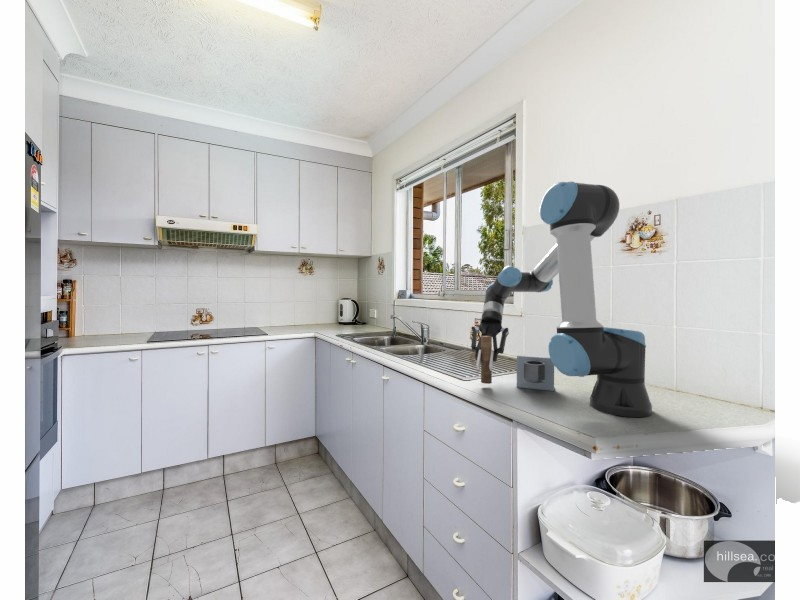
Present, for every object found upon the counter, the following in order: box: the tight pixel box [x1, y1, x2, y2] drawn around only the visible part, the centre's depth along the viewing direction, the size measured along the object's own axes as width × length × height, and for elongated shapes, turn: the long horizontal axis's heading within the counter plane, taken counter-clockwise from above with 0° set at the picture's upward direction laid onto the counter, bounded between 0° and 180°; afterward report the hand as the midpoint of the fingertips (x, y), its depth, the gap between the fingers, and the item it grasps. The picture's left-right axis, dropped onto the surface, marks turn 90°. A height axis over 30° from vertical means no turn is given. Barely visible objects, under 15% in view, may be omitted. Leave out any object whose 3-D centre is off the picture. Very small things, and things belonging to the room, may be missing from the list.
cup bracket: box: [524, 360, 545, 383], centre depth 118 cm, size 8×6×6 cm
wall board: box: [516, 355, 555, 392], centre depth 124 cm, size 5×12×11 cm, turn 67°
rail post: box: [480, 335, 493, 385], centre depth 123 cm, size 4×4×16 cm
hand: (484, 367), depth 120 cm, fingers closed on rail post, 3 cm apart
